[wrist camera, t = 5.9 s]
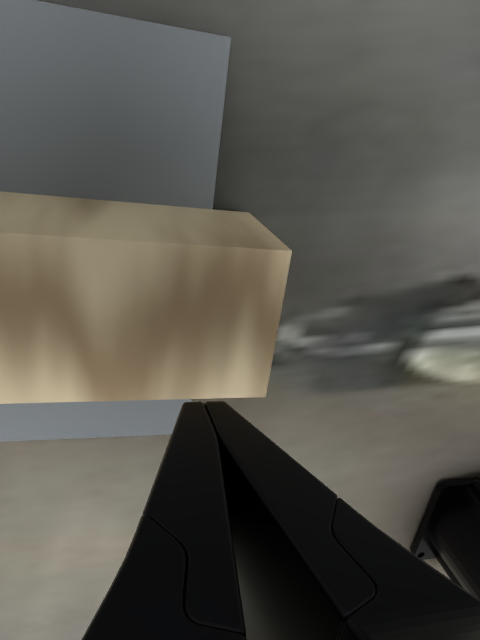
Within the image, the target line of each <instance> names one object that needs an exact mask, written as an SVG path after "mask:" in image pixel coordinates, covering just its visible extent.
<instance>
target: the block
mask: <svg viewBox="0 0 480 640" xmlns="http://www.w3.org/2000/svg"><path fill="white" fill-rule="evenodd" d="M291 255H292V250H291V249H289V248H288V247H287V246H286V245H285V244H284V243H283V242H282V241H281V240H279V239H278V238H277V237H276V236H275V235H274V234H273V233H272V232H270V231H269V230H268V229H267V228H266V227H265V226H264V225H263V224H262V223H260V222H259V221H258V220H257V219H256V218H255V217H254V216H253V215H252V214H250V213H249V212H238V211H226V210H214V209H202V208H190V207H178V206H166V205H155V204H143V203H131V202H119V201H107V200H95V199H84V198H72V197H60V196H48V195H36V194H24V193H12V192H1V191H0V404H14V403H53V402H92V401H132V400H171V399H210V398H250V397H266V393H267V387H268V382H269V376H270V371H271V365H272V360H273V354H274V349H275V343H276V338H277V332H278V326H279V321H280V315H281V310H282V304H283V299H284V293H285V288H286V282H287V277H288V271H289V266H290V260H291Z"/></svg>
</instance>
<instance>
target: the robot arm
mask: <svg viewBox="0 0 480 640" xmlns="http://www.w3.org/2000/svg"><path fill="white" fill-rule="evenodd" d="M432 558H436V559H437V560H438V562H439V563H440V565H441V566H442V567H443V569H444V570H445V572H446V573H447V575H448V576H449V578H450V579H451V580H450V579H449V578H447V577H446V576H444V575H443V574H441V573H440V572H439V571H437V570H436V569H434V568H433V567H431V566H430V565H429V564H427V563H426V562H424V561H423V560H425V559H432ZM82 640H480V478H475V479H462V480H450V481H443V482H442V483H440V484H439V485H438V486H437V488H436V491H435V493H434V495H433V498H432V500H431V503H430V505H429V508H428V510H427V513H426V515H425V518H424V520H423V523H422V525H421V527H420V530H419V532H418V535H417V537H416V540H415V542H414V545H413V547H412V550H411V552H410V551H409V550H407V549H406V548H404V547H403V546H402V545H400V544H399V543H397V542H396V541H395V540H393V539H392V538H391V537H389V536H388V535H386V534H385V533H384V532H382V531H381V530H380V529H378V528H377V527H376V526H375V525H373V524H372V523H371V522H369V521H368V520H367V519H366V518H364V517H363V516H362V515H361V514H359V513H358V512H357V511H356V510H354V509H353V508H352V507H351V506H350V505H348V504H347V503H346V502H345V501H344V500H342V499H341V498H338V499H337V495H336V494H335V493H334V492H333V491H331V490H330V489H329V488H328V487H327V486H325V485H324V484H323V483H322V482H321V481H319V480H318V479H317V478H316V477H315V476H313V475H312V474H311V473H310V472H308V471H307V470H306V469H305V468H304V467H302V466H301V465H300V464H299V463H298V462H296V461H295V460H294V459H293V458H292V457H290V456H289V455H288V454H287V453H286V452H284V451H283V450H282V449H281V448H280V447H278V446H277V445H276V444H275V443H274V442H272V441H271V440H270V439H269V438H268V437H266V436H265V435H264V434H263V433H262V432H260V431H259V430H258V429H257V428H256V427H254V426H253V425H252V424H251V423H250V422H248V421H247V420H246V419H245V418H244V417H242V416H241V415H240V414H239V413H238V412H236V411H235V410H234V409H233V408H232V407H230V406H229V405H228V404H227V403H225V402H223V401H210V402H205V403H202V402H184V403H183V404H182V407H181V410H180V412H179V415H178V418H177V421H176V423H175V426H174V429H173V432H172V434H171V437H170V440H169V443H168V445H167V448H166V451H165V454H164V456H163V459H162V462H161V465H160V467H159V470H158V473H157V476H156V478H155V481H154V484H153V487H152V489H151V492H150V495H149V498H148V500H147V503H146V506H145V509H144V511H143V516H141V519H140V522H139V524H138V527H137V530H136V532H135V535H134V537H133V540H132V542H131V545H130V547H129V549H128V552H127V554H126V557H125V559H124V561H123V563H122V565H121V567H120V569H119V571H118V573H117V575H116V577H115V579H114V581H113V583H112V585H111V587H110V589H109V591H108V592H107V594H106V596H105V598H104V600H103V602H102V603H101V605H100V607H99V609H98V611H97V613H96V614H95V616H94V618H93V620H92V622H91V624H90V625H89V627H88V629H87V631H86V633H85V635H84V636H83V638H82Z"/></svg>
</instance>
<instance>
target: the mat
mask: <svg viewBox="0 0 480 640" xmlns="http://www.w3.org/2000/svg"><path fill="white" fill-rule="evenodd" d="M230 44H231V37H226V36H221V35H216V34H211V33H205V32H200V31H195V30H190V29H184V28H179V27H174V26H169V25H163V24H158V23H153V22H148V21H142V20H137V19H132V18H127V17H121V16H116V15H111V14H106V13H100V12H95V11H90V10H85V9H80V8H74V7H69V6H64V5H59V4H53V3H48V2H43V1H38V0H0V191H1V192H12V193H24V194H36V195H48V196H60V197H72V198H84V199H95V200H107V201H119V202H131V203H143V204H155V205H166V206H178V207H190V208H202V209H213V203H214V193H215V184H216V175H217V165H218V156H219V147H220V137H221V128H222V119H223V109H224V100H225V90H226V81H227V72H228V62H229V53H230ZM184 402H192V399H171V400H132V401H92V402H53V403H14V404H0V442H5V441H29V440H52V439H76V438H100V437H123V436H147V435H170V434H172V432H173V429H174V426H175V423H176V421H177V418H178V415H179V412H180V410H181V407H182V404H183V403H184Z"/></svg>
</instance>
